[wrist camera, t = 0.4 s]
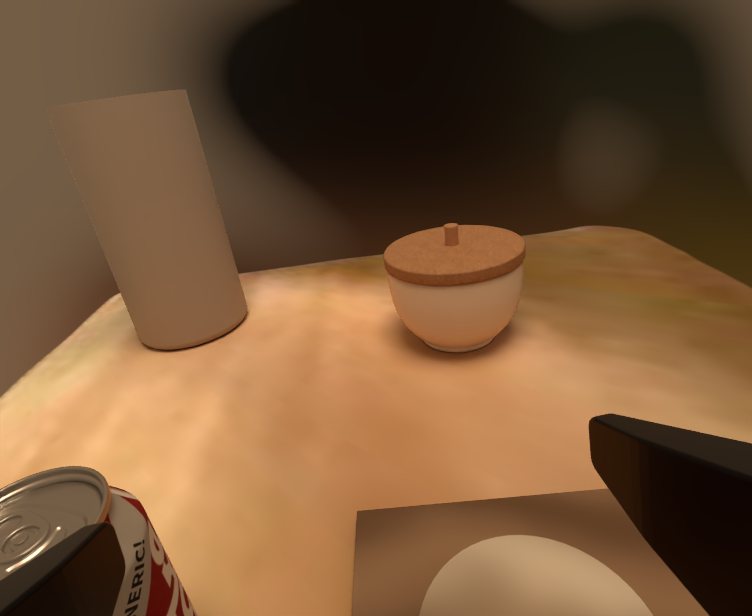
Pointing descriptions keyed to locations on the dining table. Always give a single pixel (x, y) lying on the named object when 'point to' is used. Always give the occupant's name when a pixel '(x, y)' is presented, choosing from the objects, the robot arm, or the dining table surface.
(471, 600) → the walnut serving board
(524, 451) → the dining table surface
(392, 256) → the lidded bowl
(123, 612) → the soda can
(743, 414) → the dining table surface
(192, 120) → the cylinder vase
